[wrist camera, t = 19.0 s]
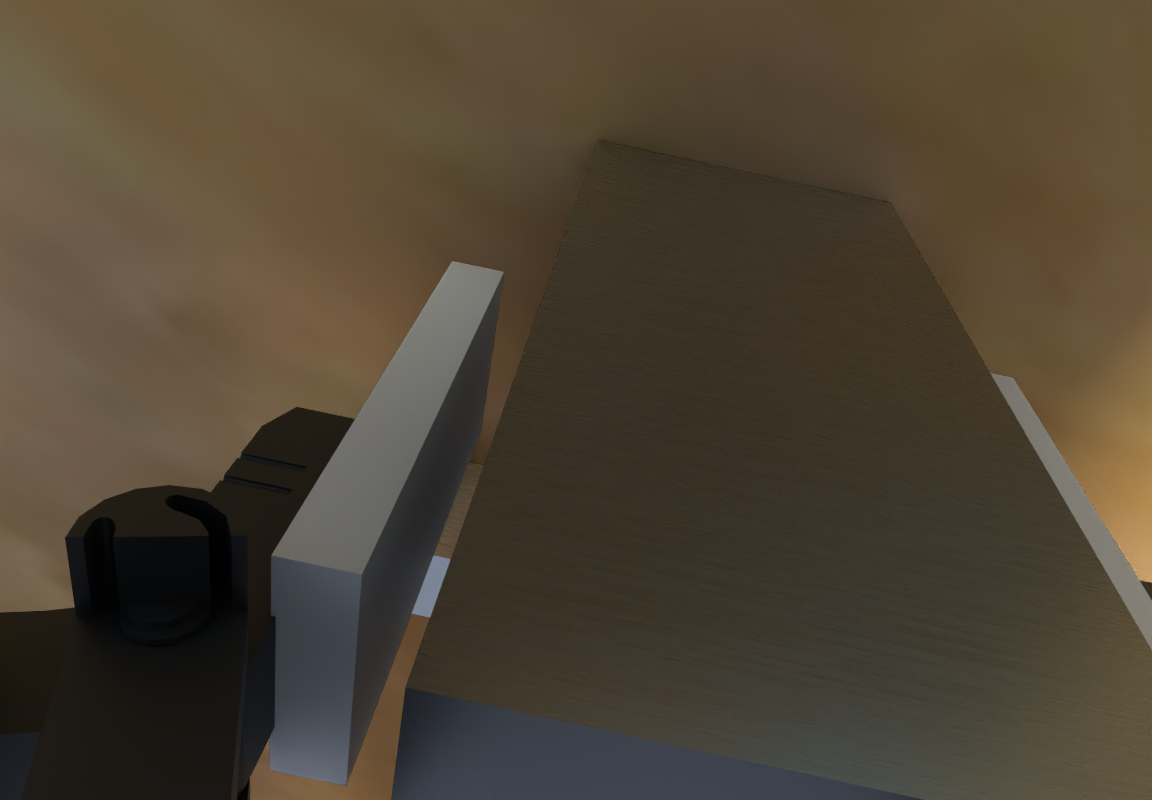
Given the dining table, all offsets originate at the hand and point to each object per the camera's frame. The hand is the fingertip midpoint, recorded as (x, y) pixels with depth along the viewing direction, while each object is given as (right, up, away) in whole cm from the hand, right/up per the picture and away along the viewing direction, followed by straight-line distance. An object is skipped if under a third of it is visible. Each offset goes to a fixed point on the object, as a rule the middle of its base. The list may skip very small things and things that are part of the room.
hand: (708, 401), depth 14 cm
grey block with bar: (0, 0, +4) cm, 4 cm away
